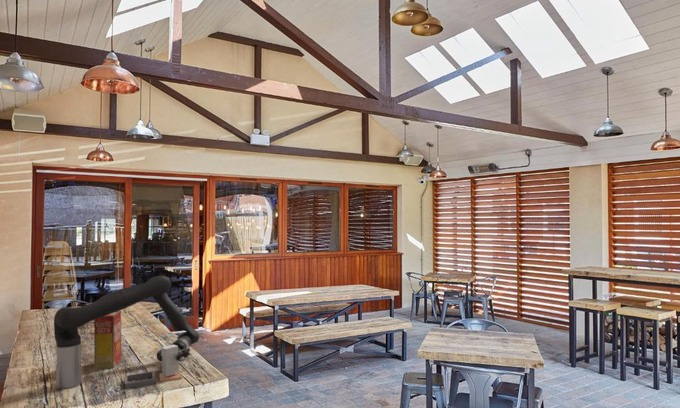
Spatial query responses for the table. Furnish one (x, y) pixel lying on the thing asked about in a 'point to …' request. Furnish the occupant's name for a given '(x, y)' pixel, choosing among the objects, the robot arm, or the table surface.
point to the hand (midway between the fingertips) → (168, 358)
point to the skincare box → (169, 360)
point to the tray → (138, 376)
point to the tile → (170, 377)
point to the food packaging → (107, 341)
